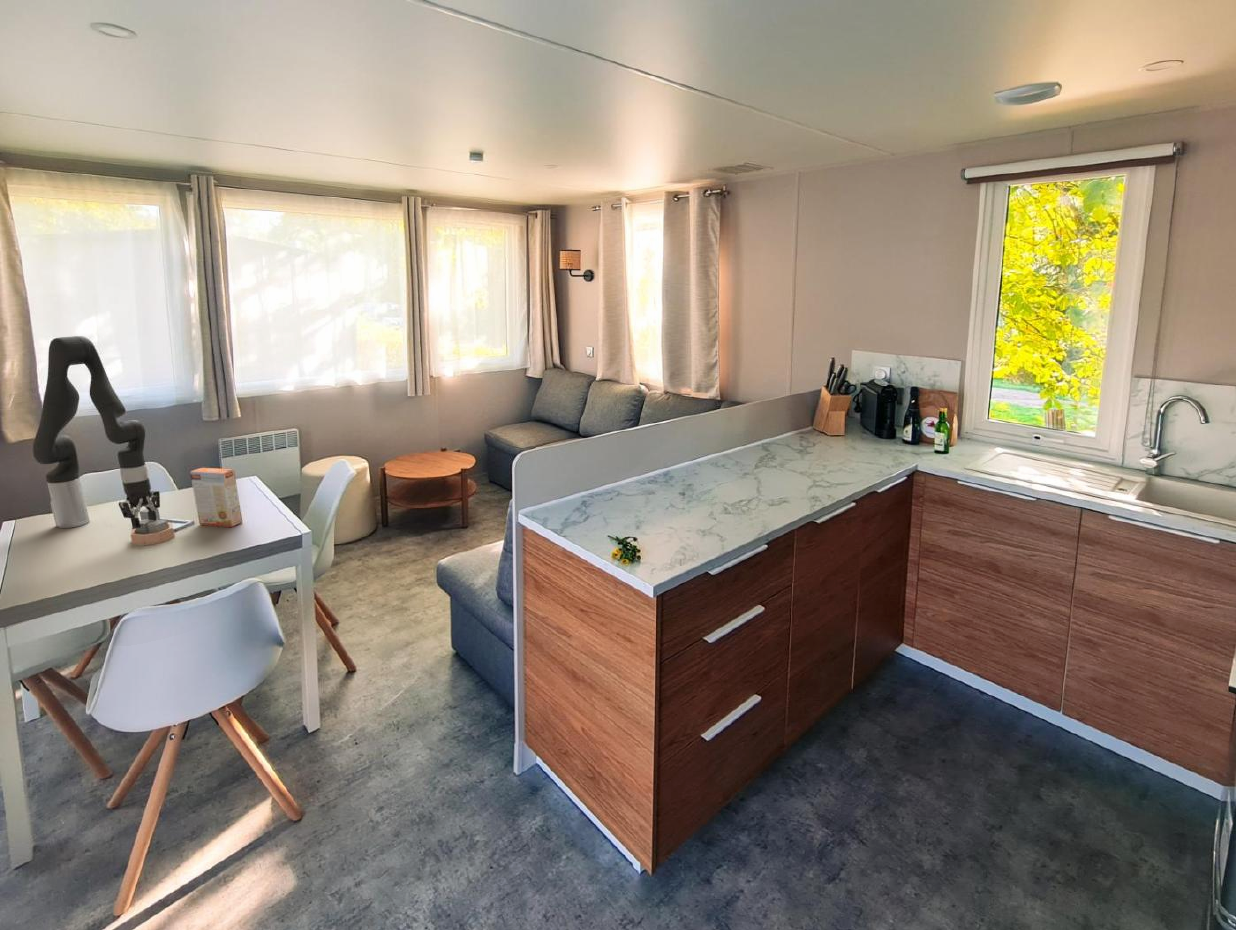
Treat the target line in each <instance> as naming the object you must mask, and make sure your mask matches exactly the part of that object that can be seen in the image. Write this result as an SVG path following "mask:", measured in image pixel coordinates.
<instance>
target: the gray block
mask: <svg viewBox="0 0 1236 930" xmlns="http://www.w3.org/2000/svg"><path fill="white" fill-rule="evenodd" d="M155 513H156V517H157V518H156V520H160V518H161V516H160V511H159V508H157V509H156V511H155ZM139 515H140V521H141V520H144V519H149V517H148V510H147V509H146V508H145V509H142V510H140V511H139Z"/></svg>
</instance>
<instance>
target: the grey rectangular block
mask: <svg viewBox="0 0 1236 930" xmlns="http://www.w3.org/2000/svg"><path fill="white" fill-rule="evenodd" d="M148 529H149V534H151V533H157V532H161V531H163V530H165V529H168V523H167V521H164V520H156V521H154V522H151V523H149V524H148Z"/></svg>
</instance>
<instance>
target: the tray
mask: <svg viewBox="0 0 1236 930" xmlns="http://www.w3.org/2000/svg"><path fill="white" fill-rule="evenodd" d="M160 520H164V521H167V523H172V524H173V528H174V533H175V532H178V531H180V530H182V529H185V528H187V527H189V526H191V525H194V524H195V521H194V520H187V519H179V518H178V519H175V518H163V517H160ZM131 527H132V529H136V528H134V527H133V526H132V525H131Z"/></svg>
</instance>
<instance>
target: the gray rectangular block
mask: <svg viewBox="0 0 1236 930" xmlns="http://www.w3.org/2000/svg"><path fill="white" fill-rule="evenodd" d="M139 522H140V528H136V533H137V534H143V535H145V534H149V529H148V524H149V523H151V522H154V520H149V519H144V520H141V519H140V520H139Z"/></svg>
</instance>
